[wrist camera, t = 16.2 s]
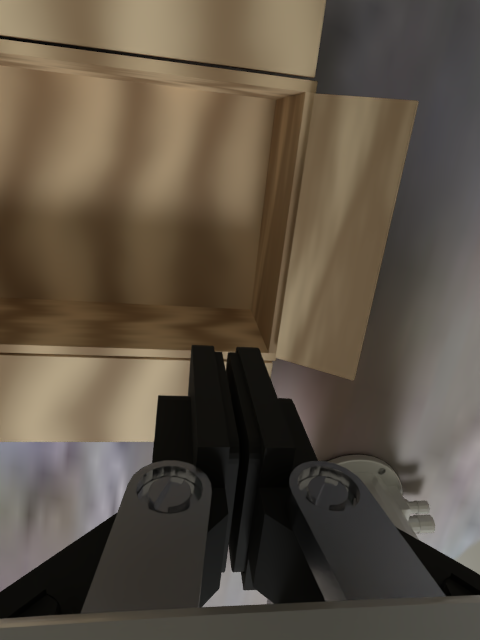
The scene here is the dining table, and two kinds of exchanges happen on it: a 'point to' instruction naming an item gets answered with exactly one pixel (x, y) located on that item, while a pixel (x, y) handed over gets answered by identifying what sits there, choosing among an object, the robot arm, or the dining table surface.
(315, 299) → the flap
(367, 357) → the dining table surface
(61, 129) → the carton
